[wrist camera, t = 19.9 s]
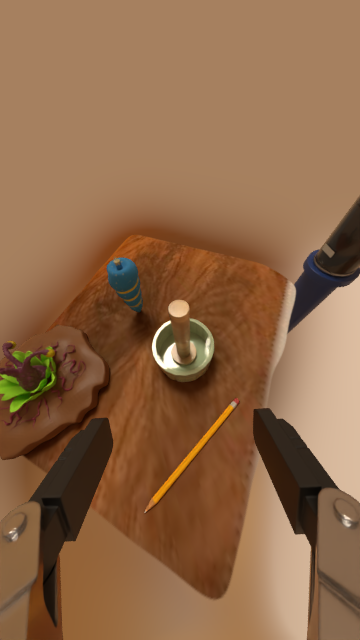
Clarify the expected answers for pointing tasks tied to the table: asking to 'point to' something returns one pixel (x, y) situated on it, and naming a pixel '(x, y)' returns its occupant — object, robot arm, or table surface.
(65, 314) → the table surface
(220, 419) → the pencil
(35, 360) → the plant
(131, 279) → the ornament
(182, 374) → the bowl
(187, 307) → the stick
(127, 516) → the table surface
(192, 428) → the table surface
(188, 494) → the table surface
